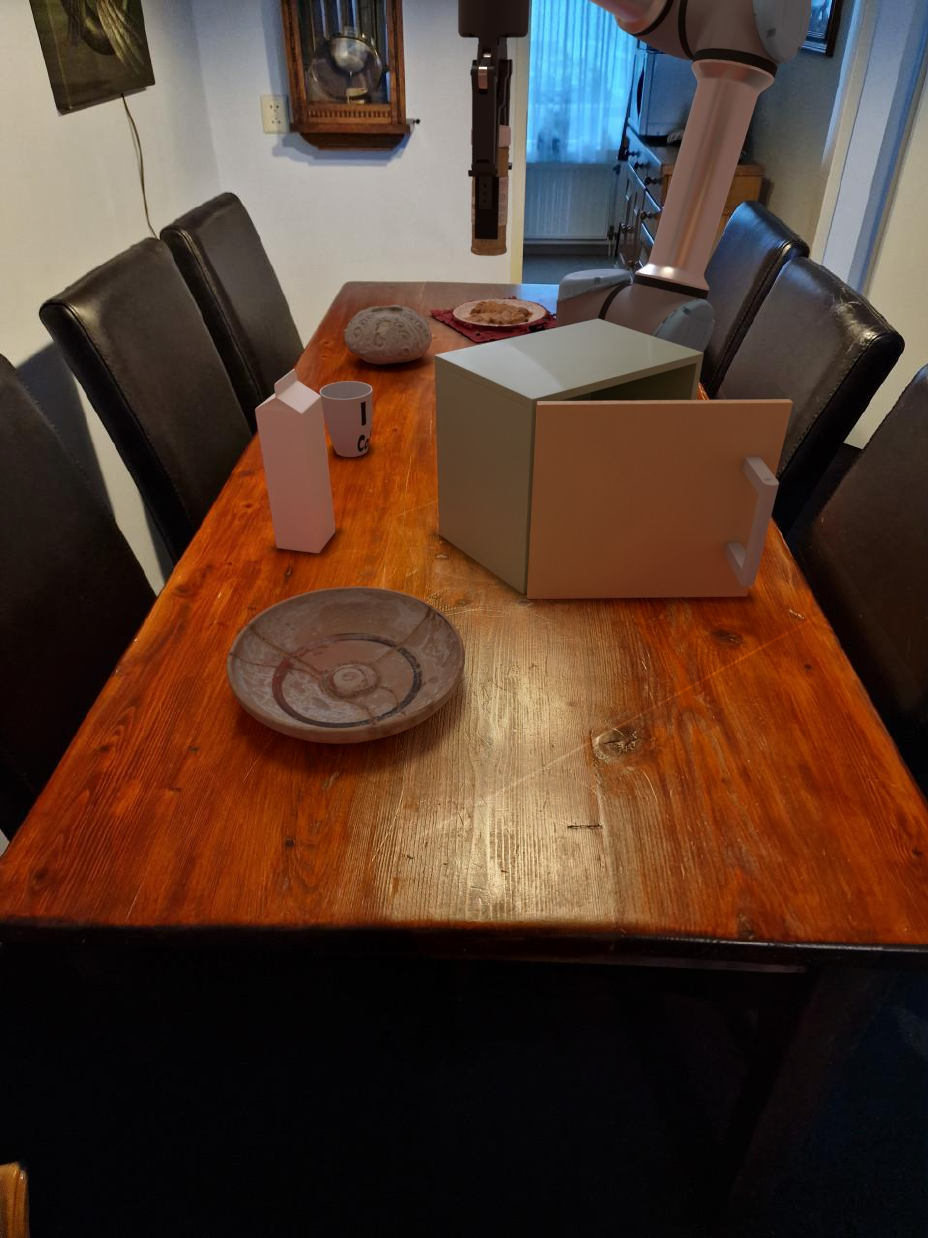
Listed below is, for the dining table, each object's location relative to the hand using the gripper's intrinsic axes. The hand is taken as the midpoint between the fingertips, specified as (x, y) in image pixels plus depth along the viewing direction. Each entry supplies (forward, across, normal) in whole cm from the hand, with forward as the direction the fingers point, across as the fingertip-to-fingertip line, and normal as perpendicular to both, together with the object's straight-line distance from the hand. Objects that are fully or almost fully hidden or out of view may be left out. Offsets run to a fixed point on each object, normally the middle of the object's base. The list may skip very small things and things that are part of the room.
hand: (489, 233), depth 99 cm
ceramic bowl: (+35, -46, +6) cm, 58 cm away
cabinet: (+35, -10, -11) cm, 38 cm away
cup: (+35, +11, +24) cm, 44 cm away
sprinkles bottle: (+2, 0, 0) cm, 2 cm away
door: (+35, -27, -23) cm, 49 cm away
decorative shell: (+35, +57, +30) cm, 73 cm away
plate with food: (+35, +89, +12) cm, 96 cm away
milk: (+35, -18, +21) cm, 45 cm away
